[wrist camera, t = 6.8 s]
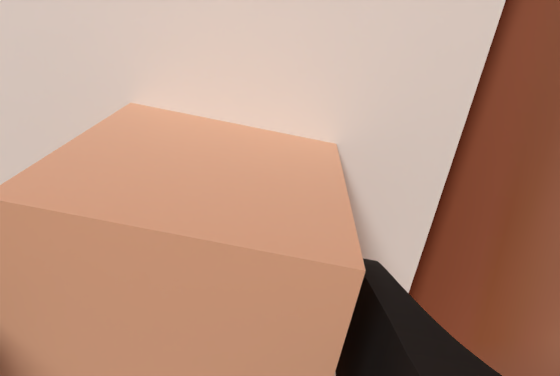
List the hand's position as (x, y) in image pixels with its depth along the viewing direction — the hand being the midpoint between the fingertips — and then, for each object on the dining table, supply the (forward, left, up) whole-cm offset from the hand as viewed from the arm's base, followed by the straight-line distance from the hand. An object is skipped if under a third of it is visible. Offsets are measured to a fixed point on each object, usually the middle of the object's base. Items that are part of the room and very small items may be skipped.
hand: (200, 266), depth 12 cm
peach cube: (0, 0, -3) cm, 3 cm away
